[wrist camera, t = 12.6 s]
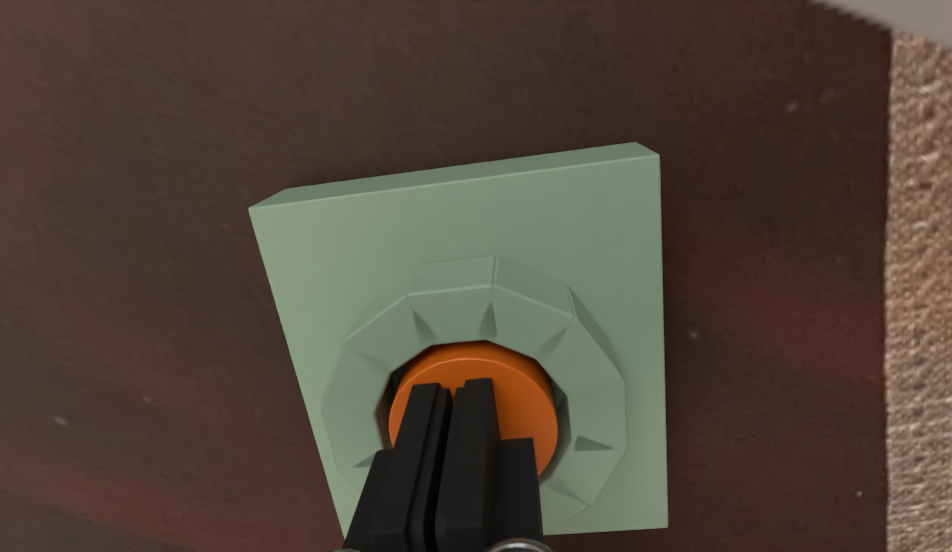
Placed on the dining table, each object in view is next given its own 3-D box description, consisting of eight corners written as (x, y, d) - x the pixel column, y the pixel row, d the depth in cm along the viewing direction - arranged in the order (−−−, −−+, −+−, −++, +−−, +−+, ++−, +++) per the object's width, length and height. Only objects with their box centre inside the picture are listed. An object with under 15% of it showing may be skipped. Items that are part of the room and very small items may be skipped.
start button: (390, 328, 13) (372, 366, 11) (544, 312, 12) (549, 349, 11) (417, 454, 14) (404, 505, 12) (558, 443, 13) (565, 494, 12)
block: (285, 188, 14) (203, 229, 10) (636, 141, 13) (688, 167, 9) (365, 492, 17) (326, 606, 14) (648, 472, 16) (690, 588, 13)
